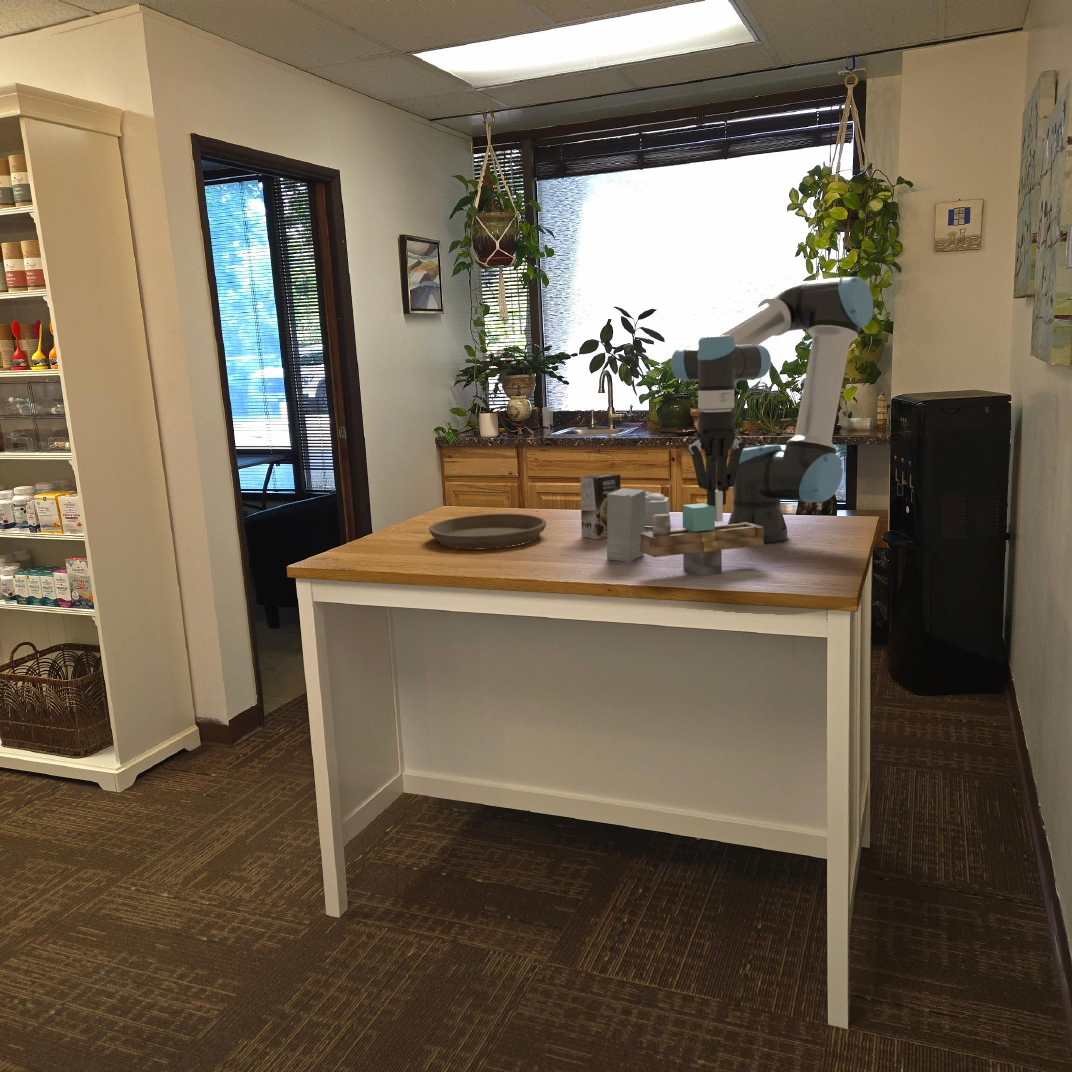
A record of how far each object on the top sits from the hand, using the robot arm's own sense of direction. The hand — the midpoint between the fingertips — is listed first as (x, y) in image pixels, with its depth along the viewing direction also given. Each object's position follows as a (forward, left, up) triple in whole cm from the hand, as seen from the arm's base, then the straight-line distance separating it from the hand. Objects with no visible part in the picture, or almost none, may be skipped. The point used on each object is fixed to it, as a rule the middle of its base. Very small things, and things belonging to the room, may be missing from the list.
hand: (716, 520), depth 202 cm
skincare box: (+12, -20, -11) cm, 26 cm away
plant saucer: (+35, -59, -11) cm, 70 cm away
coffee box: (+7, -48, -11) cm, 50 cm away
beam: (+3, 0, -11) cm, 11 cm away
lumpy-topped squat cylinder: (-10, -58, -11) cm, 60 cm away
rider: (+4, 0, -3) cm, 6 cm away
